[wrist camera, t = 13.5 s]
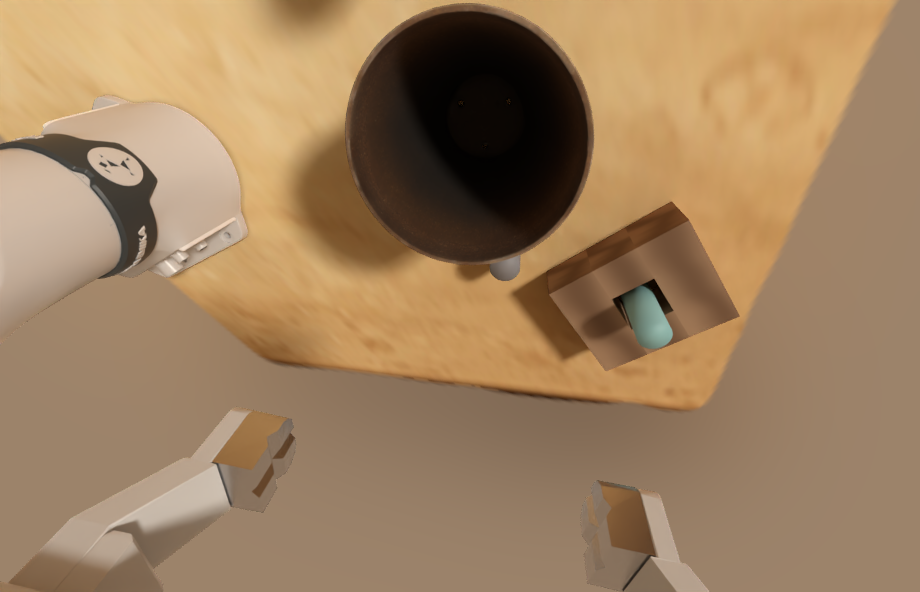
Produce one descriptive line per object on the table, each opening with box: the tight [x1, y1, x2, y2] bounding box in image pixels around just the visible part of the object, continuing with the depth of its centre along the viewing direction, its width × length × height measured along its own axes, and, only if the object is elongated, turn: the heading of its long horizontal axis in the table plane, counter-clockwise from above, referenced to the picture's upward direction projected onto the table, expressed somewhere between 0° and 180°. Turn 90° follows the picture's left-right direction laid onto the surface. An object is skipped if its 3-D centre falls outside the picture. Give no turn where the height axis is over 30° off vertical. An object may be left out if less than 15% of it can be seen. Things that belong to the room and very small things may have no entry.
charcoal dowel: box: [490, 255, 520, 281], centre depth 42 cm, size 3×3×5 cm
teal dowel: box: [620, 282, 673, 349], centre depth 40 cm, size 3×3×10 cm
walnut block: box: [547, 202, 739, 371], centre depth 42 cm, size 14×12×5 cm
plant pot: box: [345, 3, 594, 265], centre depth 31 cm, size 15×15×16 cm
